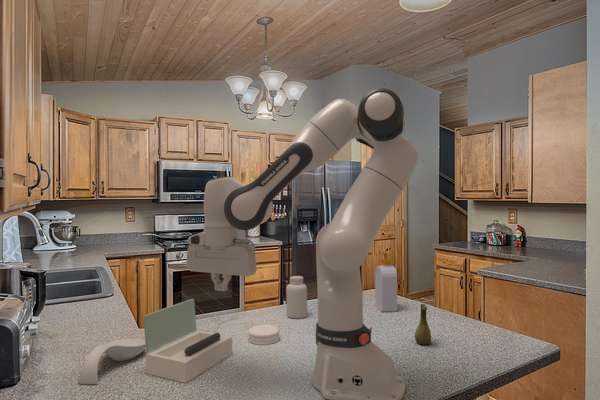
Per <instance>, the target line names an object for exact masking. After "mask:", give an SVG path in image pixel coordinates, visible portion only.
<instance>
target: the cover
mask: <svg viewBox="0 0 600 400" xmlns="http://www.w3.org/2000/svg"><path fill="white" fill-rule="evenodd" d="M195 307H196V306H195V298H190V299H187V300H185V301H182V302H179V303H176V304H173V305H171V306H167V307H164V308H162V309H161V308H160V309H158V310H155V311H153V312H150V313H148V314H145V315H143V325H144V329H143V330H144V339H145V343H146V347H145V352H146V353H150V352H152V351H154V350H156V349H158V348H161V347H163V346H165V345H167V344H169V343H171V342H173V341H176V340H178V339H180V338H182V337H184V336H186V335H188V334H191V333H193V332H195V331H197V320H196V319H197V317H196V308H195Z"/></svg>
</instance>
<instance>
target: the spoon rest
mask: <svg viewBox="0 0 600 400" xmlns="http://www.w3.org/2000/svg"><path fill="white" fill-rule="evenodd" d="M145 350H146V343H145V338H124V339H117V340H113V341H110V342H107V343H104V344H99V345H97V346H96V347H95V348H93V349H92V350H91V351H90V353H89V354H88V356H87V357H86V359H85V361H84V363H83V365H82V367H81V371H80V374H79V377H78V378H79V379H78V384H79V385H98V383H99V382H98V381H99V379H98V377H99V376H98V367H99V363H100V361H101V358H102V357H103V355H104V354H105V355H106V356H108V358H110V359H112V360H113V361H115V362H125V360H126V361H129V360H132V359H134V358H136V357H137V356H139V355H141V353H143V351H145Z"/></svg>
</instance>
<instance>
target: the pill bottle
mask: <svg viewBox="0 0 600 400" xmlns="http://www.w3.org/2000/svg"><path fill="white" fill-rule="evenodd" d="M285 290H286V291H285V293H286V297H285V298H286V317H287V318H289V319H294V320H296V319H302V318H303V319H304V318H306V317H308V287H307V285H306V284H305V283H304V277H303V276H302V275H292V276H290V277H289V284H287V285H286V287H285Z"/></svg>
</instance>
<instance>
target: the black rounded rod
mask: <svg viewBox="0 0 600 400" xmlns="http://www.w3.org/2000/svg"><path fill="white" fill-rule="evenodd" d="M220 335H221V334H220V332H215V333H214V334H213V335H211V336H209V337H207V338H205V339H203V340H201V341H199V342H197V343H195V344H193V345H191V346H189V347H187V348H186V349H185V351H184V352H185V354H186V355H191V354H193V353H195V352H196V351H198V350H200V349H202V348H204V347H206V346H207V345H209V344H211V343H213V342H215V341H217V340H219V339H220V337H221V336H220Z"/></svg>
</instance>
